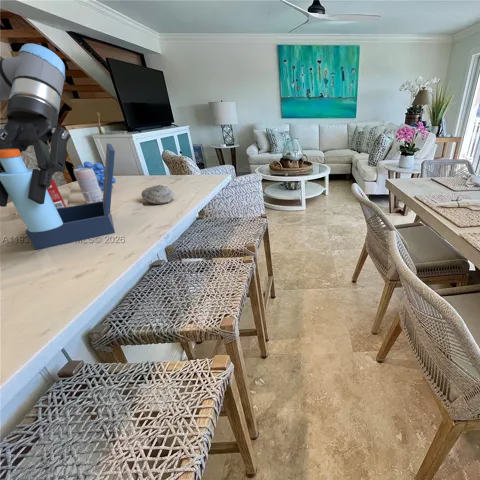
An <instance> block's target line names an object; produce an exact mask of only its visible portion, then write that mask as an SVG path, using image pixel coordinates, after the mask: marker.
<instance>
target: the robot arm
mask: <svg viewBox="0 0 480 480" xmlns="http://www.w3.org/2000/svg"><path fill="white" fill-rule="evenodd" d="M65 81H66V65H65V63H64V62H63V60H62V59H61V57H60V56H58V55H57V54H56V53H55V52H54V51H53V50H51V49H49V48H47V47H45V46H43V45H39V44H35V43H24V45H22V46H21V48H20V49H19V50H18V55H17V56H13V57H12V56H11V57H5V58H1V59H0V102H3V101H5V100H8V102H7V106H6V111H5V114H6V118H7V122H6V124H4V126H3V128H0V150H3V149H19V151H20V153H21V154H23V152H26V151H27V149H28V148H29V147H33V151H34V155H35V158H36V159H35V160H36V163H37V164H35V165H34V166H35V167H36V168H32V169H33V172H32V178H31V183H30V189H29V194H28V199H30V200H32V201H34V202H36V203H38V204H44V200H45V194H46V188H49V187H50V186H51V180H52V179H53V176H54V175H55V173H58V172H59V173H64V172H65V170H66V161H67V160H66V159H67V148H68V147H67V145H68V141H70V138H71V134H70V133H68V131H67V130H66V129H65V128H64V127H62V126H60V125H59V126H58V122H59V113H60V108H61V101H62V96H63V90H64V84H65ZM50 139H51V141H50ZM49 141H50V143H49ZM2 172H6V171H5V169H4V167H3V166H2V164H1V162H0V173H2ZM8 201H9V195H8V193H7V191H6V190H5V188H4V186H3V184H2V183H1V181H0V207H1V208H4V207H7V206H8V205H7V204H8Z"/></svg>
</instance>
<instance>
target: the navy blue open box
mask: <svg viewBox="0 0 480 480" xmlns="http://www.w3.org/2000/svg"><path fill="white" fill-rule="evenodd" d="M57 211H58V213H59V215H60V217H61V219H62V222H63V224H62V225H61V226H59V227H57V228H54V229H51V230H47V231H41V232H30V231H29V230H28V228H27V227H26V229H25V233H26V236H27V237H28V239H29V241H30V242H31V245H32V246H33V248H34V249H35V251H40V250H45V249H48V248H53V247H58V246H63V245H67V244H72V243H76V242H81V241H85V240H90V239H95V238H98V237H99V238H100V237H103V236H108V235H112V234H115V233H116V230H115V226H114V221H113V216H112V213H111V212H110V214H105V209H104V202H103V201H101V202H94V203H88V204H87V203H83V204H77V205H71V206H66V207H64V208H57Z"/></svg>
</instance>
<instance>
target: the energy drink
mask: <svg viewBox="0 0 480 480" xmlns="http://www.w3.org/2000/svg"><path fill="white" fill-rule="evenodd" d="M73 175H74V177H75V179H76V182H77V184H78V187H79V189H80V191H81V193H82V196H83V198H84V200H85V204H88V203H94V202H101V201H103V191H101V189H100V186H99V183H98V181H97V178H96V176H95V173H94V171H93V169H92V168H79V169H77V168H75V169H73Z"/></svg>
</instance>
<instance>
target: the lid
mask: <svg viewBox="0 0 480 480" xmlns="http://www.w3.org/2000/svg"><path fill="white" fill-rule="evenodd" d="M115 151H116V150H115V148H114V147H113V144H111V143H106V151H105V166H104V169H105V177H104V190H103V191H102V194H103V202H104V209H105V214H110V213H111V205H112V204H111V203H112V191H113V188H112V185H113V183H112V180H113V177H114V166H115V165H114V164H115V156H116V155H115V154H116V153H115Z"/></svg>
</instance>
